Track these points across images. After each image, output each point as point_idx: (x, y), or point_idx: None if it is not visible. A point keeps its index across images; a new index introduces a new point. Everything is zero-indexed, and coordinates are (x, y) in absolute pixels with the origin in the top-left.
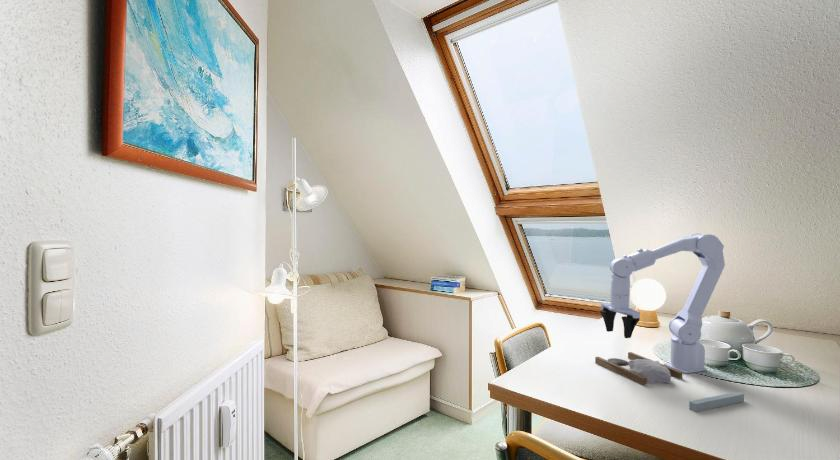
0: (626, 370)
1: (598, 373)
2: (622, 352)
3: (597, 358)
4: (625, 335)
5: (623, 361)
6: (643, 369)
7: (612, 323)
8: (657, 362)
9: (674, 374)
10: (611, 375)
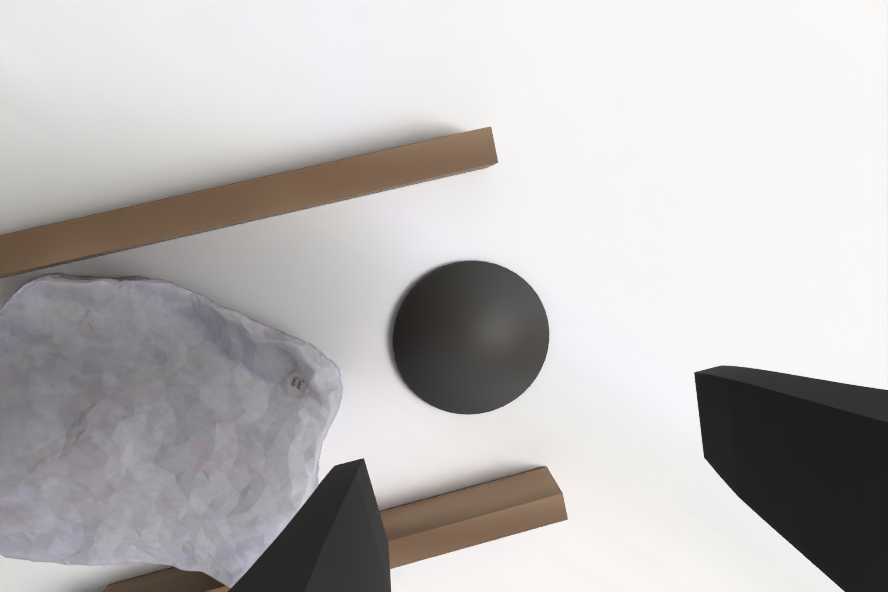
0: (113, 216)
1: (231, 11)
2: (667, 493)
3: (462, 133)
4: (327, 481)
5: (470, 386)
6: (39, 348)
7: (818, 541)
8: (220, 568)
9: (137, 589)
10: (183, 106)
